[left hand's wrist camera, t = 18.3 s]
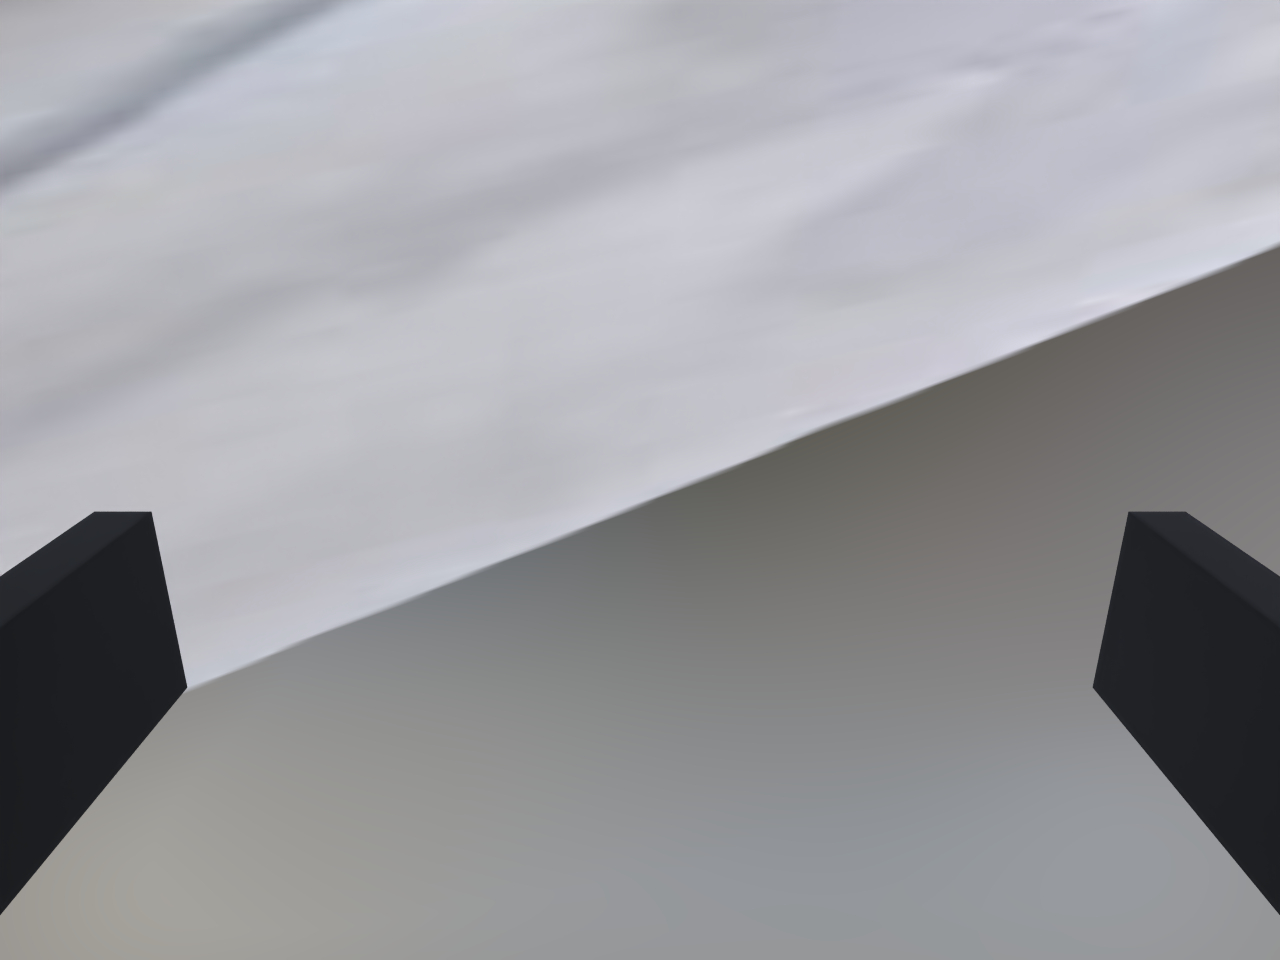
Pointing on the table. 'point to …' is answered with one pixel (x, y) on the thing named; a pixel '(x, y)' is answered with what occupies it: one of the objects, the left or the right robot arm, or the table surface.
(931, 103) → the table surface
